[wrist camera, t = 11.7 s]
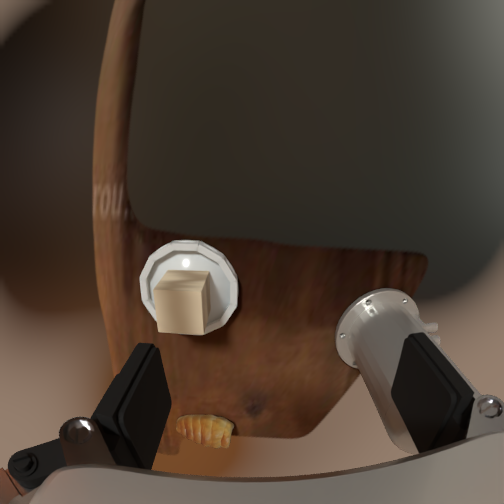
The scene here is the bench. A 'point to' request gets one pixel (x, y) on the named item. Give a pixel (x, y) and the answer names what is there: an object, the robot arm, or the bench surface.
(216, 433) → the pastry
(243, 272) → the bench surface
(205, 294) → the maple block
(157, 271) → the dish
